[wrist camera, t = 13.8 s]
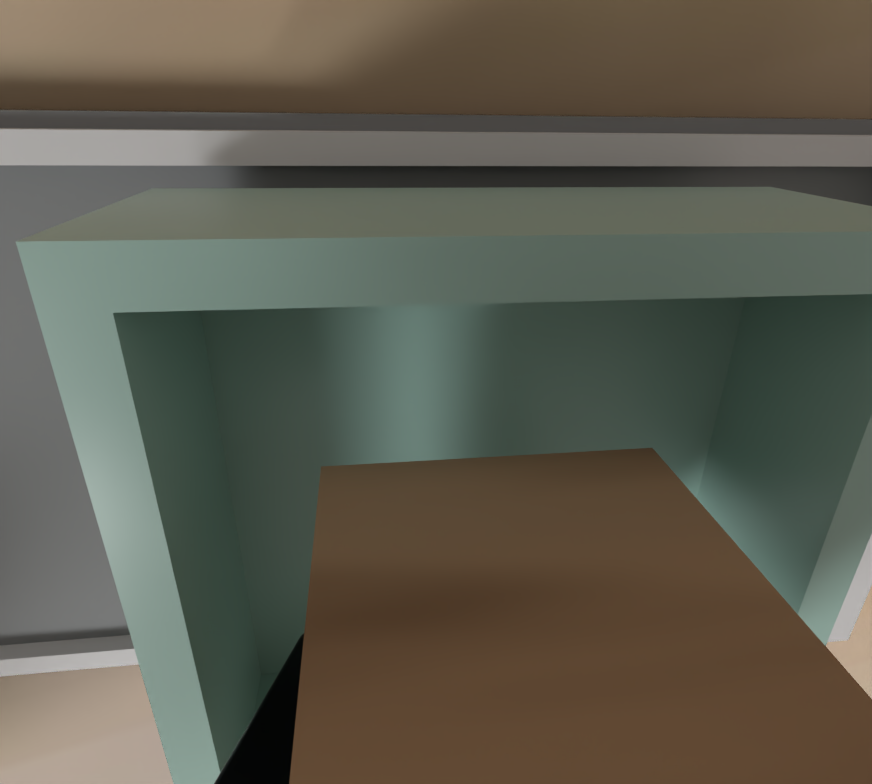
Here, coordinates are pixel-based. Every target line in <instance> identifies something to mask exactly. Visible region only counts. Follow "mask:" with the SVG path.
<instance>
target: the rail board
mask: <svg viewBox="0 0 872 784" xmlns="http://www.w3.org/2000/svg"><path fill="white" fill-rule="evenodd" d="M487 187H774V188H780V189H785V190H790V191H795V192H800V193H806V194H811V195H816V196H821V197H827V198H832V199H837V200H842V201H847V202H853V203H858V204H863V205H868V206H872V119H801V118H711V117H620V116H530V115H439V114H349V113H258V112H168V111H77V110H0V677H1V676H12V675H24V674H35V673H47V672H58V671H69V670H81V669H92V668H104V667H115V666H127V665H138V664H139V663H138V660H137V656H136V653H135V649H134V646H133V643H132V639H131V636H130V632H129V629H128V625H127V622H126V619H125V615H124V612H123V608H122V605H121V601H120V598H119V595H118V591H117V588H116V584H115V581H114V577H113V574H112V571H111V567H110V564H109V560H108V557H107V553H106V550H105V546H104V543H103V540H102V536H101V533H100V529H99V526H98V522H97V519H96V516H95V512H94V509H93V505H92V502H91V498H90V495H89V492H88V488H87V485H86V481H85V478H84V474H83V471H82V468H81V464H80V461H79V457H78V454H77V450H76V447H75V444H74V440H73V437H72V433H71V430H70V426H69V423H68V420H67V416H66V413H65V409H64V406H63V402H62V399H61V396H60V392H59V389H58V385H57V382H56V378H55V375H54V372H53V368H52V365H51V361H50V358H49V354H48V351H47V348H46V344H45V341H44V337H43V334H42V330H41V327H40V324H39V320H38V317H37V313H36V310H35V306H34V303H33V300H32V296H31V293H30V289H29V286H28V282H27V279H26V276H25V272H24V269H23V265H22V262H21V258H20V255H19V252H18V248H17V245H16V241H19V240H21V239H24V238H26V237H29V236H31V235H34V234H37V233H39V232H42V231H44V230H47V229H49V228H52V227H54V226H57V225H60V224H62V223H65V222H67V221H70V220H72V219H75V218H78V217H80V216H83V215H85V214H88V213H90V212H93V211H95V210H98V209H101V208H103V207H106V206H108V205H111V204H113V203H116V202H119V201H121V200H124V199H126V198H129V197H131V196H134V195H136V194H139V193H142V192H144V191H147V190H149V189H152V188H487ZM871 586H872V534H871V536H870V539H869V541H868V544H867V546H866V549H865V551H864V553H863V556H862V558H861V561H860V563H859V566H858V568H857V571H856V573H855V575H854V578H853V580H852V583H851V585H850V588H849V590H848V592H847V595H846V597H845V600H844V602H843V605H842V607H841V610H840V612H839V614H838V617H837V619H836V622H835V624H834V627H833V629H832V631H831V634H830V636H829V639H828V641H827V642H833V641H844V640H848V639H849V637H850V634H851V632H852V630H853V627H854V625H855V623H856V620H857V618H858V616H859V613H860V611H861V609H862V606H863V604H864V602H865V600H866V597H867V595H868V593H869V590H870V588H871Z"/></svg>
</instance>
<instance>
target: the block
mask: <svg viewBox="0 0 872 784" xmlns="http://www.w3.org/2000/svg"><path fill="white" fill-rule="evenodd" d="M289 784H872V699H871V698H870V697H869V696H868V694H867V693H866V692H865V691H864V690H863V689H862V688H861V686H860V685H859V684H858V683H857V682H856V681H855V680H854V678H853V677H852V676H851V675H850V674H849V673H848V672H847V670H846V669H845V668H844V667H843V666H842V665H841V663H840V662H839V661H838V660H837V659H836V658H835V657H834V655H833V654H832V653H831V652H830V651H829V650H828V649H827V647H826V646H825V645H824V644H823V643H822V642H821V641H820V639H819V638H818V637H817V636H816V635H815V634H814V633H813V631H812V630H811V629H810V628H809V627H808V626H807V625H806V623H805V622H804V621H803V620H802V619H801V618H800V616H799V615H798V614H797V613H796V612H795V611H794V610H793V608H792V607H791V606H790V605H789V604H788V603H787V602H786V600H785V599H784V598H783V597H782V596H781V595H780V594H779V592H778V591H777V590H776V589H775V588H774V587H773V586H772V584H771V583H770V582H769V581H768V580H767V579H766V577H765V576H764V575H763V574H762V573H761V572H760V571H759V569H758V568H757V567H756V566H755V565H754V564H753V563H752V561H751V560H750V559H749V558H748V557H747V556H746V555H745V553H744V552H743V551H742V550H741V549H740V548H739V547H738V545H737V544H736V543H735V542H734V541H733V540H732V538H731V537H730V536H729V535H728V534H727V533H726V532H725V530H724V529H723V528H722V527H721V526H720V525H719V524H718V522H717V521H716V520H715V519H714V518H713V517H712V516H711V514H710V513H709V512H708V511H707V510H706V509H705V508H704V506H703V505H702V504H701V503H700V502H699V501H698V500H697V498H696V497H695V496H694V495H693V494H692V493H691V491H690V490H689V489H688V488H687V487H686V486H685V485H684V483H683V482H682V481H681V480H680V479H679V478H678V477H677V475H676V474H675V473H674V472H673V471H672V470H671V469H670V467H669V466H668V465H667V464H666V463H665V462H664V461H663V459H662V458H661V457H660V456H659V455H658V454H657V452H656V451H655V450H654V449H653V448H639V449H621V450H603V451H586V452H568V453H551V454H533V455H515V456H498V457H480V458H462V459H445V460H427V461H409V462H392V463H374V464H356V465H339V466H321V471H320V481H319V491H318V501H317V511H316V521H315V531H314V541H313V551H312V561H311V571H310V581H309V591H308V601H307V611H306V621H305V631H304V641H303V651H302V661H301V671H300V681H299V691H298V701H297V711H296V721H295V731H294V741H293V751H292V761H291V771H290V781H289Z"/></svg>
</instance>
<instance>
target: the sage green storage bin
mask: <svg viewBox="0 0 872 784" xmlns="http://www.w3.org/2000/svg"><path fill="white" fill-rule="evenodd" d="M16 245H17V248H18V252H19V255H20V258H21V262H22V265H23V269H24V272H25V276H26V279H27V282H28V286H29V289H30V293H31V296H32V300H33V303H34V306H35V310H36V313H37V317H38V320H39V324H40V327H41V330H42V334H43V337H44V341H45V344H46V348H47V351H48V354H49V358H50V361H51V365H52V368H53V372H54V375H55V378H56V382H57V385H58V389H59V392H60V396H61V399H62V402H63V406H64V409H65V413H66V416H67V420H68V423H69V426H70V430H71V433H72V437H73V440H74V444H75V447H76V450H77V454H78V457H79V461H80V464H81V468H82V471H83V474H84V478H85V481H86V485H87V488H88V492H89V495H90V498H91V502H92V505H93V509H94V512H95V516H96V519H97V522H98V526H99V529H100V533H101V536H102V540H103V543H104V546H105V550H106V553H107V557H108V560H109V564H110V567H111V571H112V574H113V577H114V581H115V584H116V588H117V591H118V595H119V598H120V601H121V605H122V608H123V612H124V615H125V619H126V622H127V625H128V629H129V632H130V636H131V639H132V643H133V646H134V649H135V653H136V656H137V660H138V663H139V667H140V670H141V673H142V677H143V680H144V684H145V687H146V691H147V694H148V697H149V701H150V704H151V708H152V711H153V715H154V718H155V721H156V725H157V728H158V732H159V735H160V739H161V742H162V745H163V749H164V752H165V756H166V759H167V763H168V766H169V769H170V773H171V776H172V780H173V783H174V784H214V783H215V781H216V779H217V778H218V776H219V774H220V772H221V771H222V769H223V767H224V766H225V764H226V762H227V761H228V759H229V757H230V755H231V754H232V752H233V750H234V749H235V747H236V745H237V743H238V742H239V740H240V738H241V737H242V735H243V733H244V732H245V730H246V728H247V726H248V725H249V723H250V721H251V720H252V718H253V716H254V714H255V713H256V711H257V709H258V708H259V706H260V704H261V702H262V701H263V699H264V697H265V696H266V694H267V692H268V691H269V689H270V687H271V685H272V684H273V682H274V680H275V679H276V677H277V675H278V673H279V672H280V670H281V668H282V667H283V665H284V663H285V662H286V660H287V658H288V656H289V655H290V653H291V651H292V650H293V648H294V646H295V644H296V643H297V641H298V639H299V638H300V636H301V635H302V634H303V633H304V631H305V621H306V611H307V601H308V591H309V581H310V571H311V561H312V551H313V541H314V531H315V521H316V511H317V501H318V491H319V481H320V471H321V466H339V465H356V464H374V463H392V462H409V461H427V460H445V459H462V458H480V457H498V456H515V455H533V454H551V453H568V452H586V451H603V450H621V449H639V448H653V449H654V450H655V451H656V452H657V454H658V455H659V456H660V457H661V458H662V459H663V461H664V462H665V463H666V464H667V465H668V466H669V467H670V469H671V470H672V471H673V472H674V473H675V474H676V475H677V477H678V478H679V479H680V480H681V481H682V482H683V483H684V485H685V486H686V487H687V488H688V489H689V490H690V491H691V493H692V494H693V495H694V496H695V497H696V498H697V500H698V501H699V502H700V503H701V504H702V505H703V506H704V508H705V509H706V510H707V511H708V512H709V513H710V514H711V516H712V517H713V518H714V519H715V520H716V521H717V522H718V524H719V525H720V526H721V527H722V528H723V529H724V530H725V532H726V533H727V534H728V535H729V536H730V537H731V538H732V540H733V541H734V542H735V543H736V544H737V545H738V547H739V548H740V549H741V550H742V551H743V552H744V553H745V555H746V556H747V557H748V558H749V559H750V560H751V561H752V563H753V564H754V565H755V566H756V567H757V568H758V569H759V571H760V572H761V573H762V574H763V575H764V576H765V577H766V579H767V580H768V581H769V582H770V583H771V584H772V586H773V587H774V588H775V589H776V590H777V591H778V592H779V594H780V595H781V596H782V597H783V598H784V599H785V600H786V602H787V603H788V604H789V605H790V606H791V607H792V608H793V610H794V611H795V612H796V613H797V614H798V615H799V616H800V618H801V619H802V620H803V621H804V622H805V623H806V625H807V626H808V627H809V628H810V629H811V630H812V631H813V633H814V634H815V635H816V636H817V637H818V638H819V639H820V641H821V642H822V643H823V644H824V645H825V646H826V644H827V641H828V639H829V636H830V634H831V631H832V629H833V627H834V624H835V622H836V619H837V617H838V614H839V612H840V610H841V607H842V605H843V602H844V600H845V597H846V595H847V592H848V590H849V588H850V585H851V583H852V580H853V578H854V575H855V573H856V571H857V568H858V566H859V563H860V561H861V558H862V556H863V553H864V551H865V549H866V546H867V544H868V541H869V539H870V536H871V534H872V206H868V205H863V204H858V203H853V202H847V201H842V200H837V199H832V198H827V197H821V196H816V195H811V194H806V193H800V192H795V191H790V190H785V189H780V188H774V187H487V188H152V189H149V190H147V191H144V192H142V193H139V194H136V195H134V196H131V197H129V198H126V199H124V200H121V201H119V202H116V203H113V204H111V205H108V206H106V207H103V208H101V209H98V210H95V211H93V212H90V213H88V214H85V215H83V216H80V217H78V218H75V219H72V220H70V221H67V222H65V223H62V224H60V225H57V226H54V227H52V228H49V229H47V230H44V231H42V232H39V233H37V234H34V235H31V236H29V237H26V238H24V239H21V240H19V241H16Z"/></svg>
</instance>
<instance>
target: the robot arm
mask: <svg viewBox="0 0 872 784" xmlns="http://www.w3.org/2000/svg"><path fill="white" fill-rule="evenodd" d="M303 641H304V633H303V634H302V635H301V636H300V638H299V639H298V641H297V643H296V644H295V646H294V648H293V650H292V651H291V653H290V655H289V656H288V658H287V660H286V662H285V663H284V665H283V667H282V668H281V670H280V672H279V673H278V675H277V677H276V679H275V680H274V682H273V684H272V685H271V687H270V689H269V691H268V692H267V694H266V696H265V697H264V699H263V701H262V702H261V704H260V706H259V708H258V709H257V711H256V713H255V714H254V716H253V718H252V720H251V721H250V723H249V725H248V726H247V728H246V730H245V732H244V733H243V735H242V737H241V738H240V740H239V742H238V743H237V745H236V747H235V749H234V750H233V752H232V754H231V755H230V757H229V759H228V761H227V762H226V764H225V766H224V767H223V769H222V771H221V772H220V774H219V776H218V778H217V779H216V781H215V783H214V784H289V781H290V771H291V761H292V751H293V741H294V731H295V721H296V711H297V701H298V691H299V681H300V671H301V661H302V651H303Z"/></svg>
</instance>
